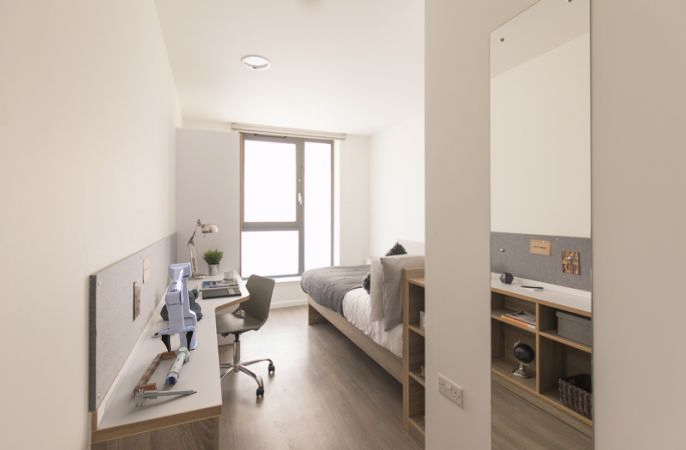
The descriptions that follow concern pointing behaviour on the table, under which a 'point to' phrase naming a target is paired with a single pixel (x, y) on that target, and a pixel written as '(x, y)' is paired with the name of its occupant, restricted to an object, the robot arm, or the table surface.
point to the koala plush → (192, 304)
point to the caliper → (160, 394)
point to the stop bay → (149, 372)
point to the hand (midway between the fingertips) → (179, 349)
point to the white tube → (177, 366)
